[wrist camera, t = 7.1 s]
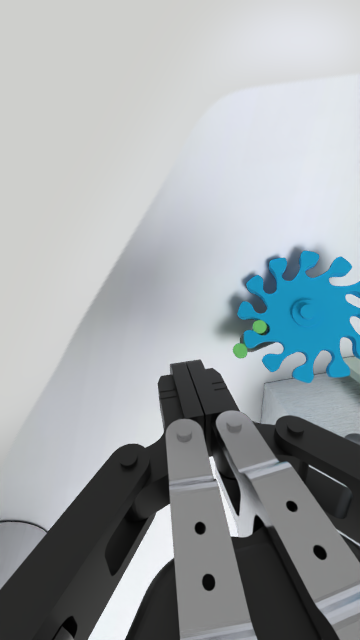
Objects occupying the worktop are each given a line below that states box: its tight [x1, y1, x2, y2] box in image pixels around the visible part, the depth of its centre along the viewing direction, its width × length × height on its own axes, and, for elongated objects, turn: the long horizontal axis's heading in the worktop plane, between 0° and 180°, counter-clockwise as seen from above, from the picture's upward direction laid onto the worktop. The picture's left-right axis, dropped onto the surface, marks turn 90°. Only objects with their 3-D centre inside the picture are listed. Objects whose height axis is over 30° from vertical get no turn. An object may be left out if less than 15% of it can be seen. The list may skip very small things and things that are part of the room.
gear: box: [233, 251, 360, 383], centre depth 22 cm, size 11×6×10 cm
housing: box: [261, 373, 360, 546], centre depth 23 cm, size 11×8×15 cm
